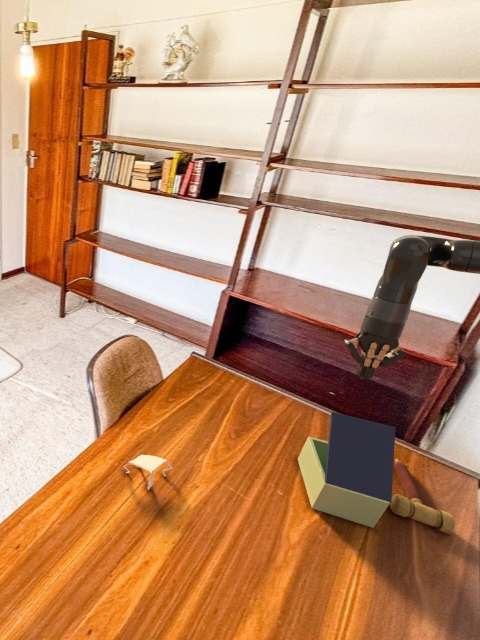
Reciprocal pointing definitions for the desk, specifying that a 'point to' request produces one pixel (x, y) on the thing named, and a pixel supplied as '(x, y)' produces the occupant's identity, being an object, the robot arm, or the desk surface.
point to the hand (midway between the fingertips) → (363, 378)
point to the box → (335, 489)
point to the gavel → (418, 504)
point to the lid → (360, 456)
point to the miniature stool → (148, 465)
